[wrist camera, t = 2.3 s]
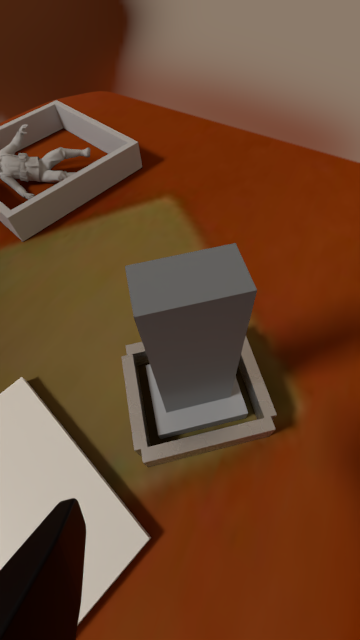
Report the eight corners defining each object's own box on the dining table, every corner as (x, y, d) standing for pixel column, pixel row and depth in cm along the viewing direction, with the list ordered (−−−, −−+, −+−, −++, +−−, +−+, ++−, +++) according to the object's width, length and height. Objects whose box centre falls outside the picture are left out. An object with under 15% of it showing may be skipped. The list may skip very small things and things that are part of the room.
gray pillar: (245, 418, 21) (293, 315, 10) (160, 439, 21) (114, 356, 10) (224, 354, 24) (244, 217, 13) (148, 371, 24) (101, 246, 13)
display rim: (142, 167, 38) (138, 142, 35) (22, 241, 32) (7, 218, 29) (64, 123, 44) (56, 100, 42) (-46, 179, 39) (-63, 155, 36)
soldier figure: (92, 204, 36) (-28, 195, 32) (89, 209, 41) (-17, 202, 37) (89, 130, 35) (-37, 111, 31) (87, 144, 39) (-24, 129, 35)
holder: (275, 434, 21) (281, 427, 19) (141, 468, 20) (136, 464, 18) (237, 333, 25) (239, 319, 23) (125, 358, 24) (120, 346, 22)
